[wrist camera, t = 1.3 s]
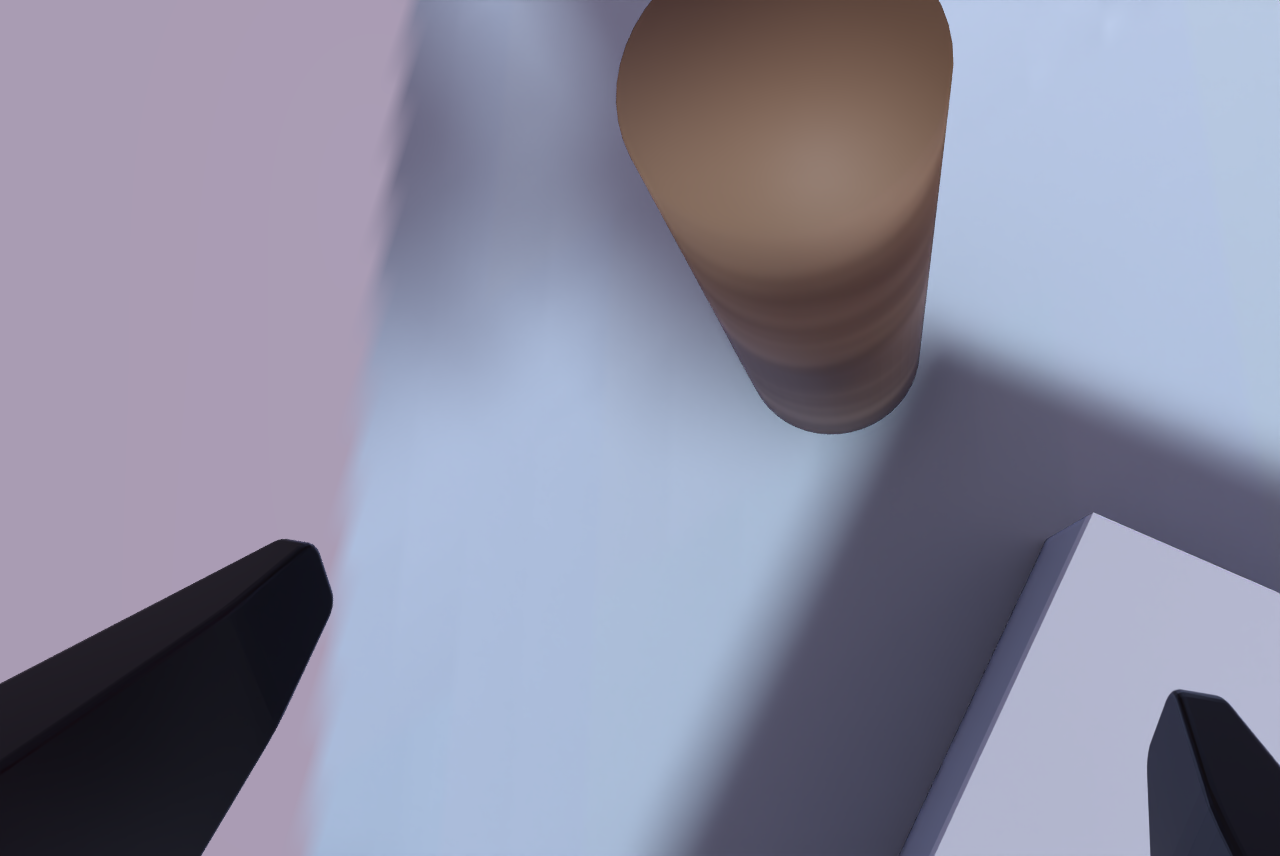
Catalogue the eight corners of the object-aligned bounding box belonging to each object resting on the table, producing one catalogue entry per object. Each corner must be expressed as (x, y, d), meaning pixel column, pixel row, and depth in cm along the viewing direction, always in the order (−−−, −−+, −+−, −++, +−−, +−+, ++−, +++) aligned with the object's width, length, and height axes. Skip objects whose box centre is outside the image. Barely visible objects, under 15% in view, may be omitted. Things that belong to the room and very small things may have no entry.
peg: (874, 462, 22) (860, 282, 11) (720, 393, 23) (561, 165, 12) (948, 309, 22) (1011, -26, 11) (792, 248, 24) (704, -108, 12)
